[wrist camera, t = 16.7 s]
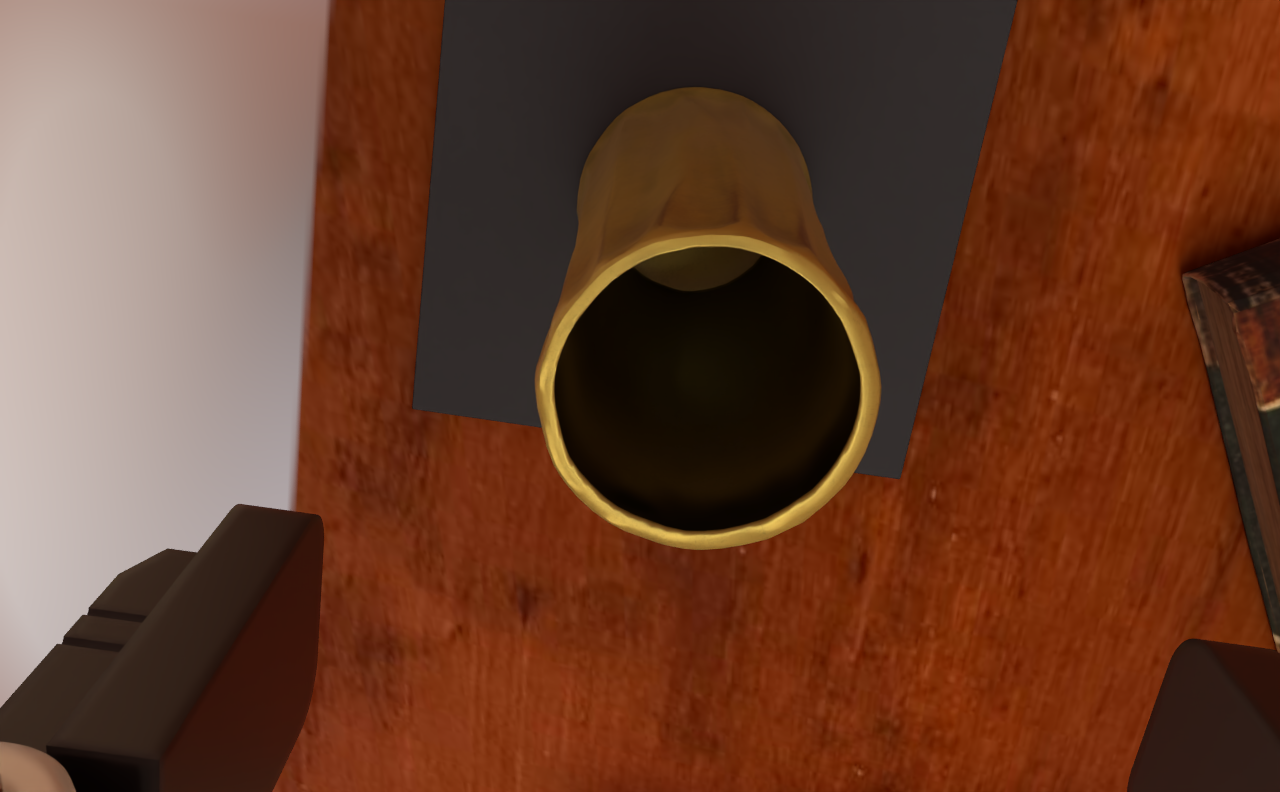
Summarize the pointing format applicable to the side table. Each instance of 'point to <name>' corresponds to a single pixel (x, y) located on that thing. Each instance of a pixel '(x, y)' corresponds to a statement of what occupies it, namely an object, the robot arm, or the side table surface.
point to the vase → (704, 332)
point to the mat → (712, 58)
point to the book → (1247, 392)
